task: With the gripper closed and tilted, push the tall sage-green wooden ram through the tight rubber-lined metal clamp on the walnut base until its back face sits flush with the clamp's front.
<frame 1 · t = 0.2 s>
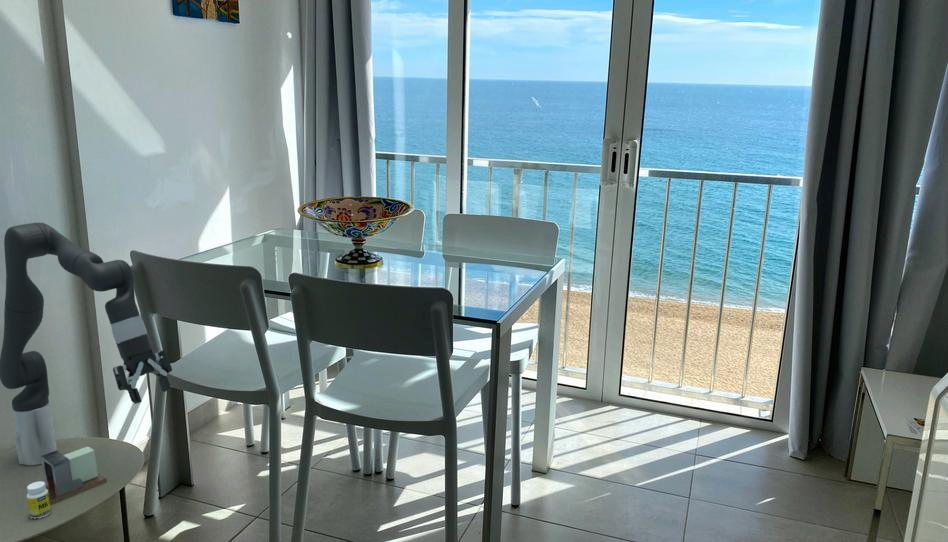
hand: (152, 396, 180), 31 cm above the table, tool tilted 20°, fingers open, 8 cm apart
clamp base: (69, 488, 195), on the table
ram: (78, 466, 196), point 5 cm above the table, slide at 5.0 cm
supplement bottle: (41, 514, 183), on the table
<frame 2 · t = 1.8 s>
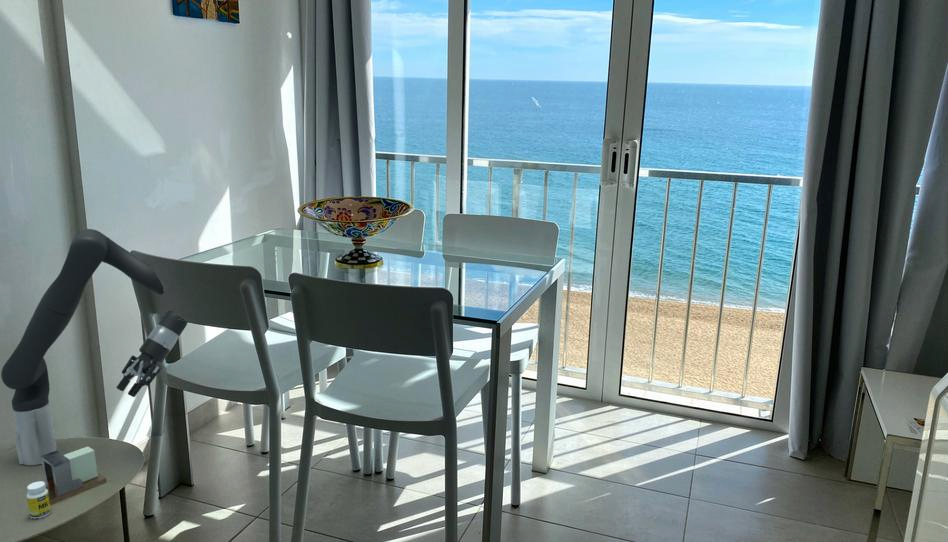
hand: (125, 392, 204), 22 cm above the table, tool tilted 45°, fingers open, 6 cm apart
nothing on the table moved.
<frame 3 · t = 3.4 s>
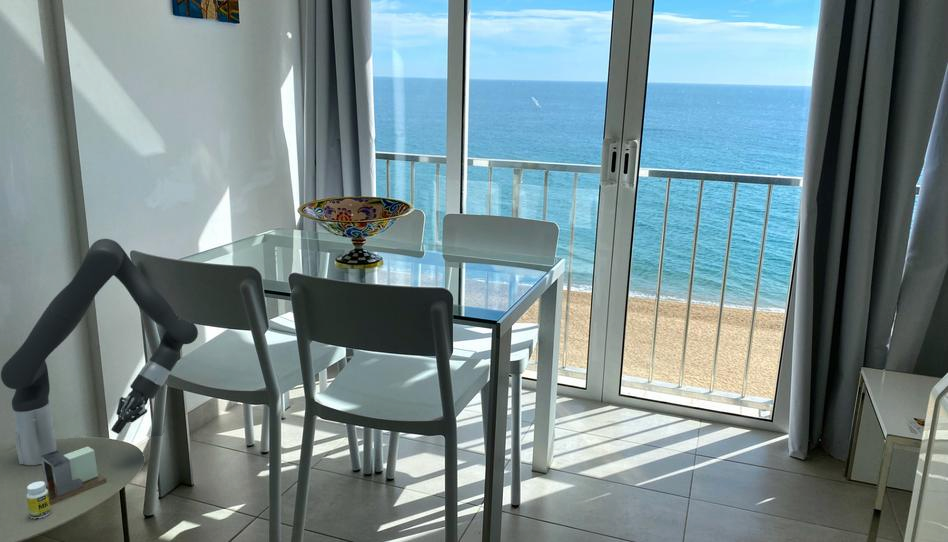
hand: (114, 432, 203), 12 cm above the table, tool tilted 45°, fingers closed
nothing on the table moved.
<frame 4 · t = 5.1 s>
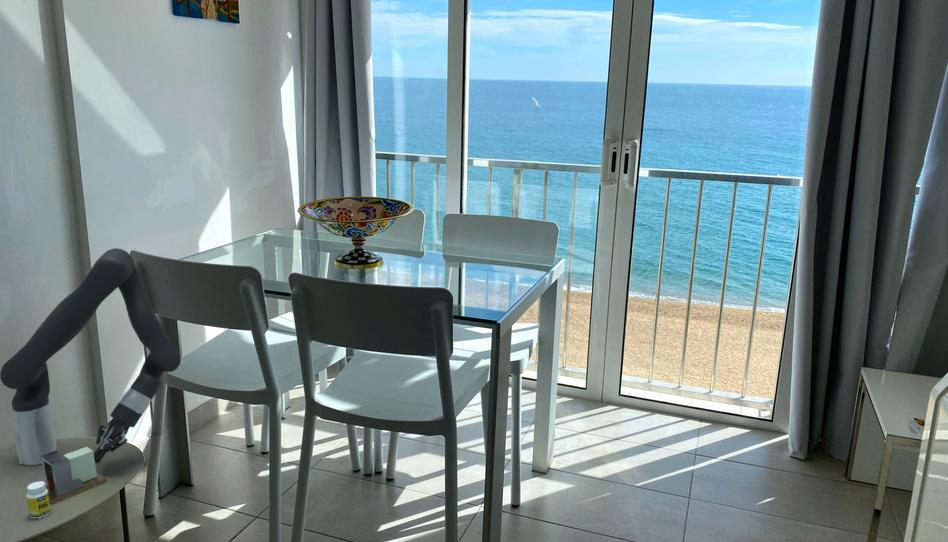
hand: (94, 461, 200), 5 cm above the table, tool tilted 45°, fingers closed
ram: (77, 467, 196), point 5 cm above the table, slide at 4.7 cm, touching gripper
everything else where it was.
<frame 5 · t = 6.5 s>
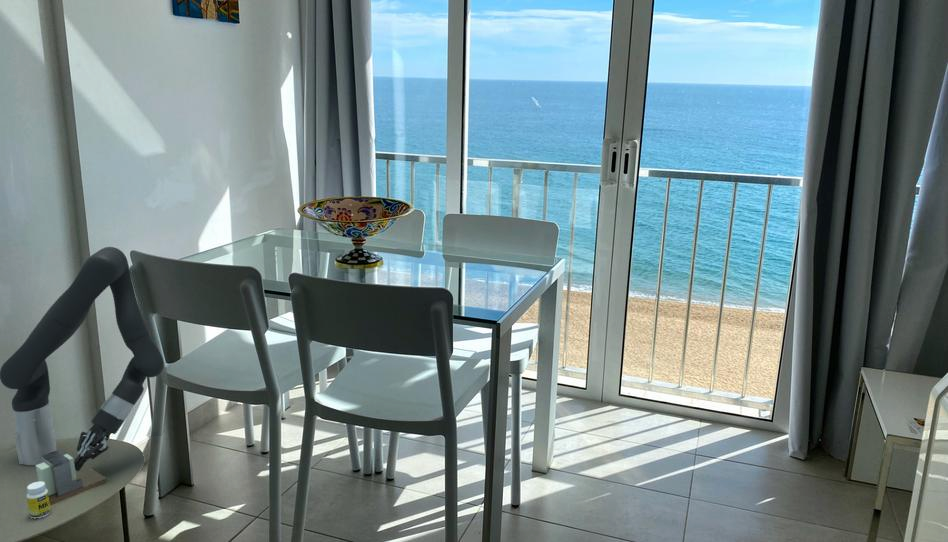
hand: (74, 469, 196), 5 cm above the table, tool tilted 45°, fingers closed
ram: (56, 475, 192), point 5 cm above the table, slide at -0.5 cm, touching gripper
everything else where it was.
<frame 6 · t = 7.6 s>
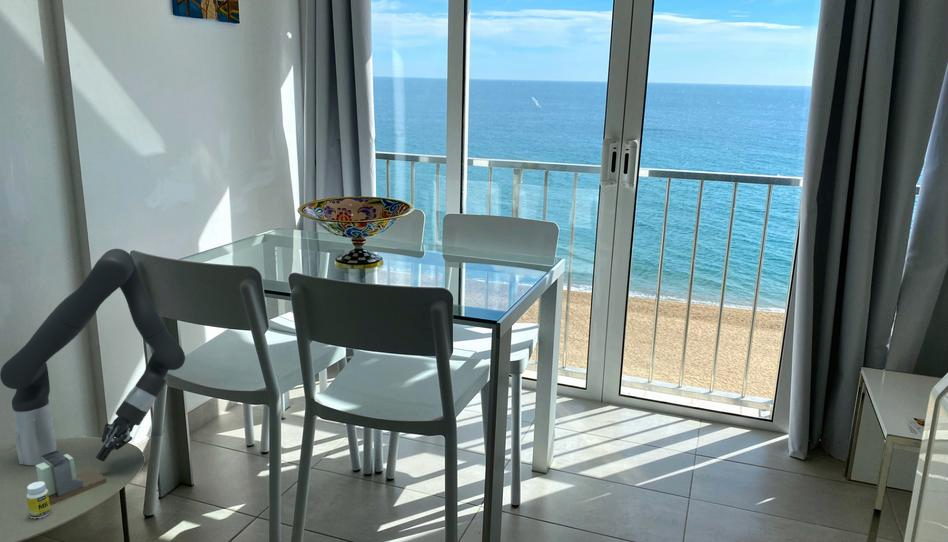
hand: (99, 459, 201), 5 cm above the table, tool tilted 45°, fingers closed
ram: (56, 475, 192), point 5 cm above the table, slide at -0.5 cm
everything else where it was.
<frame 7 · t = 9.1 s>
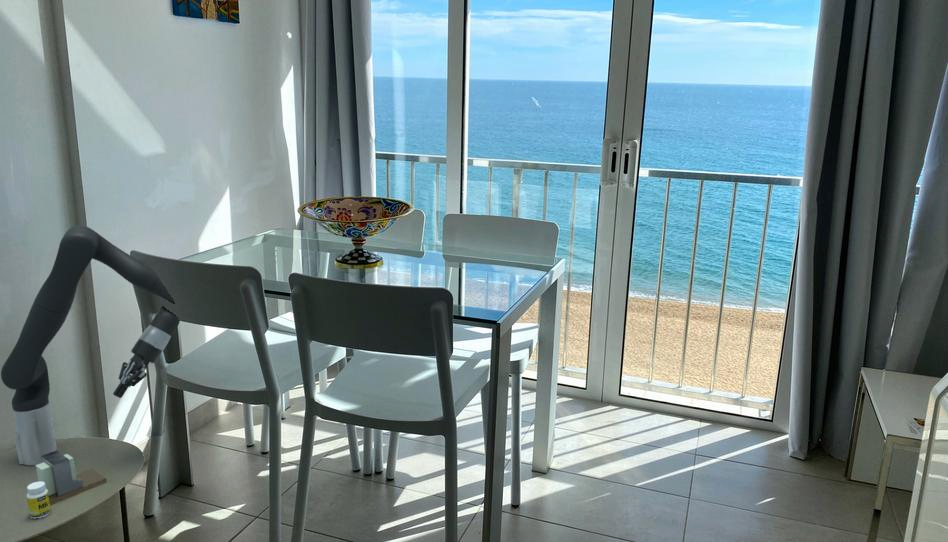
hand: (116, 396, 203), 22 cm above the table, tool tilted 45°, fingers closed
nothing on the table moved.
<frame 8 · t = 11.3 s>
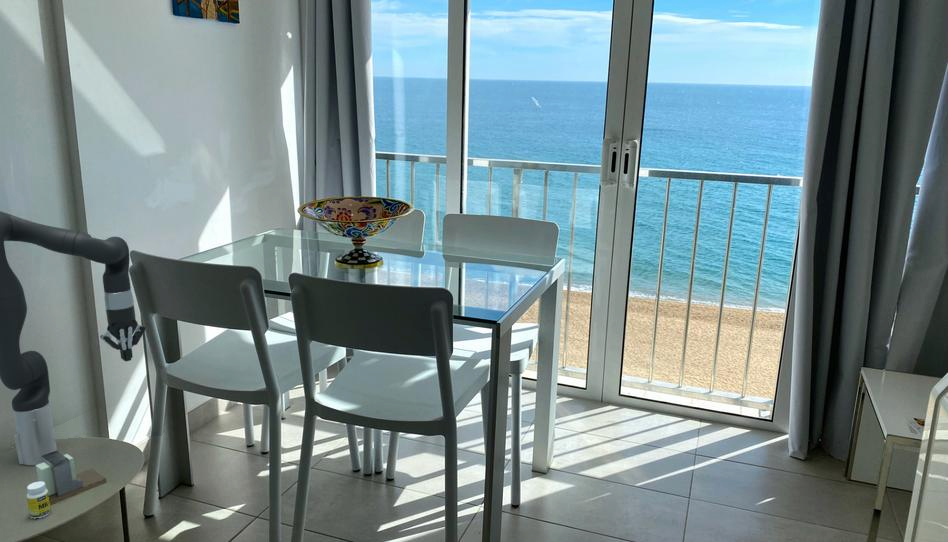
hand: (127, 360, 211), 29 cm above the table, tool pointing down, fingers closed
nothing on the table moved.
at the end: ram slide at -0.5 cm; supplement bottle moved 0.2 cm from its start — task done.
